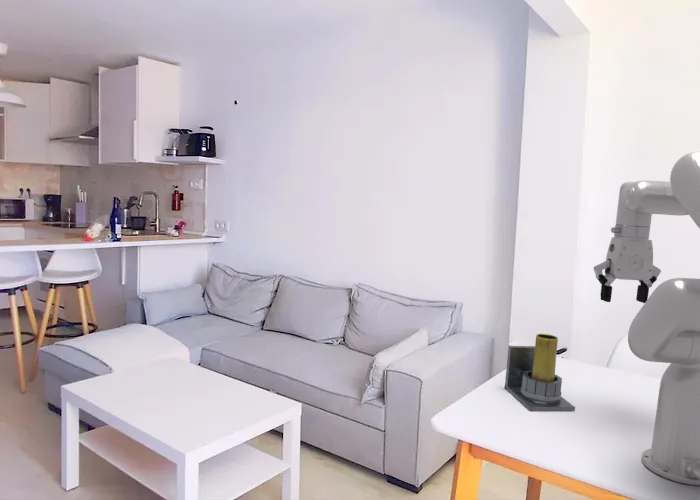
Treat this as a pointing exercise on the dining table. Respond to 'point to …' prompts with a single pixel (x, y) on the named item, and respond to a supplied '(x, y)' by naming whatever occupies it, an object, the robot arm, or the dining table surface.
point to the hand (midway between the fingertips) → (623, 301)
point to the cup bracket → (532, 383)
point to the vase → (544, 358)
